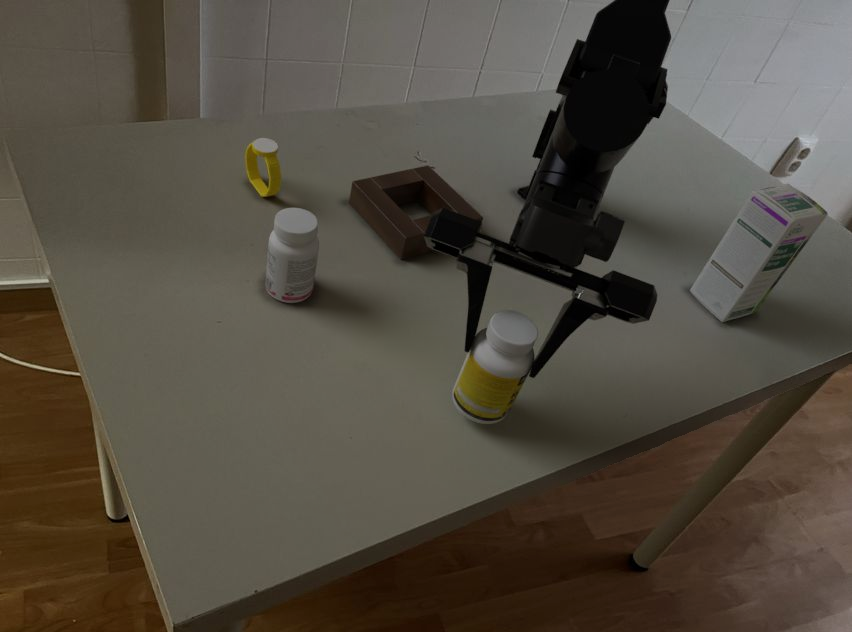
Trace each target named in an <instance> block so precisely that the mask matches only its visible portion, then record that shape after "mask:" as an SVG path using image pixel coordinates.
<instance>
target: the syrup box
mask: <svg viewBox="0 0 852 632" xmlns="http://www.w3.org/2000/svg"><path fill="white" fill-rule="evenodd" d="M827 216H828V212H827V210H825V208H823V207H822V206H821V204H818V202H816V201H815V200H814V199H813V198H811V197H810V196H808V195H807V194H806V193H804V192H803V191H801V190H799V189H798V188H796V187H795V186H792V185H791V184H790V183H785V184H783V185H779V186H770V187H764V188H760V189H753V190H752V191H751V193H750V194H749V196H748V198H747V200H746V201H745V202H744V204H743V205H742V207H741V208H740V210H739V212H738V214H737V215H736V216H735V218H734V220H733V221H732V223H731V224H730V225H729V228H728V229H727V230H726V232H725V233H724V235H723V237H722V238H721V240H720V242H719V243H718V245H717V246H716V248H715V250H714V251H713V252H712V255H711V256H710V257H709V259H708V260H707V262H706V264H705V265H704V267H703V269H702V270H701V272H700V273H699V275H698V276H697V278H696V279H695V281H694V282H693V284H692V285H691V287H690V290H689V292H690V293H691V294H692V295H693V297H694V298H695V299H697V301H698V302H699V303H700V304H701V305H703V307H705V308H706V309H707V310H708V311H709V312H710V313H711V314H712V315H713V316H714V317H715V318H717V319H718V320H719V321H720V322H721V323H727V321H731V320H736V319H739V318H743V317H745V316H746V317H747V316H749V315H752V314H756V313H757V311H758V310H759V308H760V307H761V306H762V304H763V303H764V302H765V300H766V299H767V297H769V294H770V293H771V292H772V291H773V290H774V288H775V286H776V285H777V284H778V283H779V281H780V280H781V279H782V277H783V275H785V273H786V272H787V270H788V269H789V268H790V267H791V266H792V264H793V262H794V261H795V259H796V258H797V257H798V256H799V255H800V253H801V252H802V250H803V249H804V248H805V246H806V245H807V244H808V242H809V241H810V240H811V238H812V237H813V235H814V234H815V233H816V231H817V230H818V229H819V227H820V226H821V225H822V223H823V222H824V221H825V219H826V218H827Z"/></svg>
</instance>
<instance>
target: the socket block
mask: <svg viewBox="0 0 852 632" xmlns="http://www.w3.org/2000/svg"><path fill="white" fill-rule="evenodd" d="M416 202H419V203H420V204H421V205H422V206H423V207H424V208H425V210H427V211H428V212H429V214H430V215H427V216H424V217H423V216H422V217H419V218H414V219H411V218H410V217H409V216H408V214H406V213H405V212H404V210H402V208H401V207H399V206H403V205H408V204H411V203H416ZM348 203H349V205H350V206H351V207H352V209H354V211H356V212H357V214H358V215H359V216H360V217H361V218H362V220H364V222H365V223H366V224H367V225H368V226H369V227H370V228H371V229H372V230H373V231H374V232H375V234H376V235H377V236H378V237H379V238H380V239H381V240H382V242H384V243H385V245H386V246H387V247H388V248H389V249H390V250H391V251H392V252H393V253H394V255H395V256H397V258H398V259H399V260H401V261H402V260H404V259H408V258H412V257H415V256H418V255H423V254H425V253H426V254H427V253H429V252H432V251H434V250H433V249H431V248H429V247H427V245H426V241H425V238H424V235H425V232H426V230H427V227H428V224H429V222H430V219H431V217H432V215H433V213H434V212H436V211H438V210H439V209H441V208H445V209H448V210H451V211H454V212H456V213H459V214H462V215H464V216H467V217H470V218H473V219H475V220H478V221H481V222H482V223H483V220H484V216H483V215H481V214H480V213H479V211H477V210H476V209H475V208H474V207H473V206H472V205H471V204H470V203H469V202H468V201H466V199H465V198H463V197H462V196H461V194H459V193H458V192H457V191H456V190H455V189H454V188H453V187H452V186H451V185H450V184H449V183H447V181H446V180H445V179H444V178H443V177H442V176H441V175H439V174H438V173H437V172H436V171H435V170H434V169H433V168H432V167H431V166H430V165H424V166H419V167H413V168H409V169H404V170H399V171H394V172H389V173H386V174H380V175H375V176H371V177H365V178H361V179H357V180H352V182H351V187H350V193H349V199H348Z"/></svg>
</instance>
